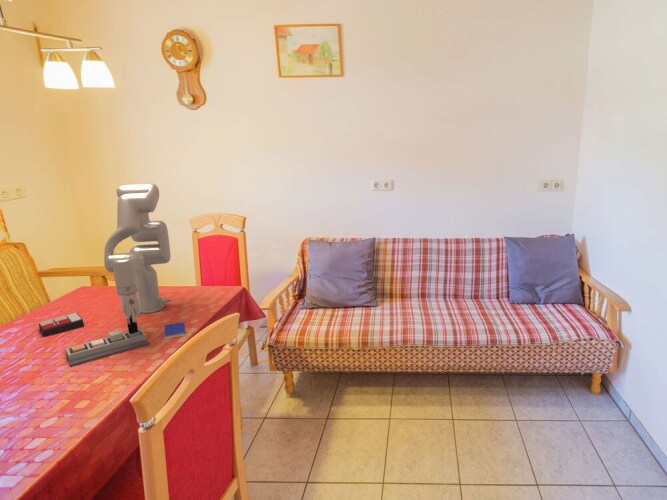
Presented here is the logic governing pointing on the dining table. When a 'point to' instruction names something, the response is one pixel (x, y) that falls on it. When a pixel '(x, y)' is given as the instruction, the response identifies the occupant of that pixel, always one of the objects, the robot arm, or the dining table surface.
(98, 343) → the key
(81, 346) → the key
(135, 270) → the robot arm
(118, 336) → the key
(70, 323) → the calculator
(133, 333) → the key
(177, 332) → the hard drive
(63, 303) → the dining table surface
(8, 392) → the dining table surface
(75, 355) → the keypad
